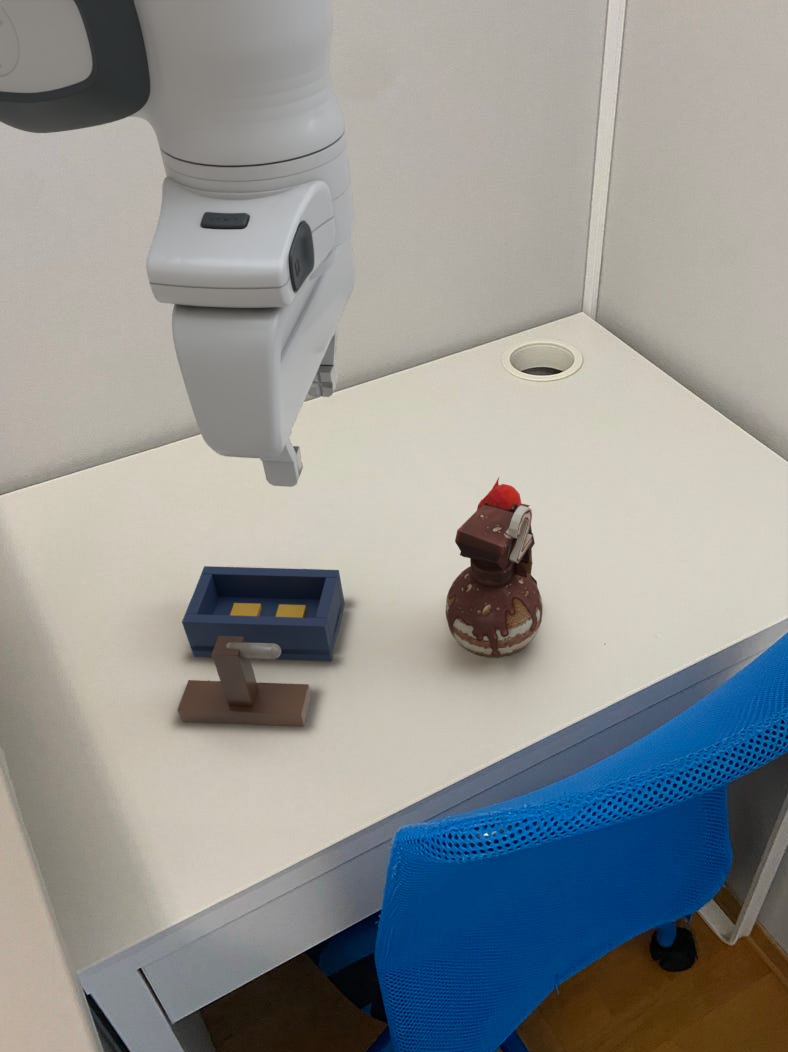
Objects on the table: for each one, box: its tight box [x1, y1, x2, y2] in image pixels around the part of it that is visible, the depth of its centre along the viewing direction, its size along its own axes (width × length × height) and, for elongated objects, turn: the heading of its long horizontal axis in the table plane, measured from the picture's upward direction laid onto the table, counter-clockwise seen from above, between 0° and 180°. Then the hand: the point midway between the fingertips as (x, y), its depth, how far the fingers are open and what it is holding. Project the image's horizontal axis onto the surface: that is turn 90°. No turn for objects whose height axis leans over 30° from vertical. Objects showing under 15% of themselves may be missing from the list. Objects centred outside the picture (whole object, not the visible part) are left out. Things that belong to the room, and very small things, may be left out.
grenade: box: [445, 477, 544, 659], centre depth 76 cm, size 9×8×15 cm
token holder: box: [181, 565, 346, 662], centre depth 81 cm, size 12×7×4 cm, turn 86°
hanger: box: [177, 636, 312, 727], centre depth 74 cm, size 10×3×8 cm, turn 86°
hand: (305, 432), depth 57 cm, fingers open, 8 cm apart
